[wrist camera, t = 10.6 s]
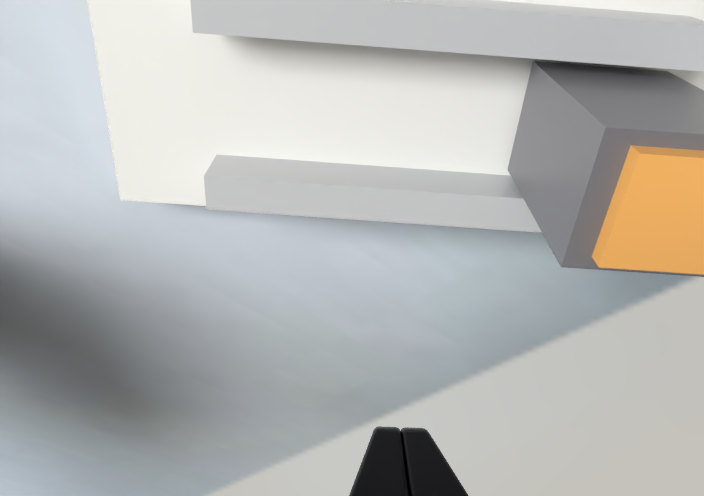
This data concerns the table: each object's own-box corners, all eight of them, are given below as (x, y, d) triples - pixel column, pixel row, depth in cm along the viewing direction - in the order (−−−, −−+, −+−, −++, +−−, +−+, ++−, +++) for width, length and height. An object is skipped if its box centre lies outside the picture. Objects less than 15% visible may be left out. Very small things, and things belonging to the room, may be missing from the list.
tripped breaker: (507, 169, 16) (567, 277, 11) (533, 61, 14) (614, 135, 10) (629, 178, 16) (738, 289, 11) (668, 71, 14) (813, 149, 10)
